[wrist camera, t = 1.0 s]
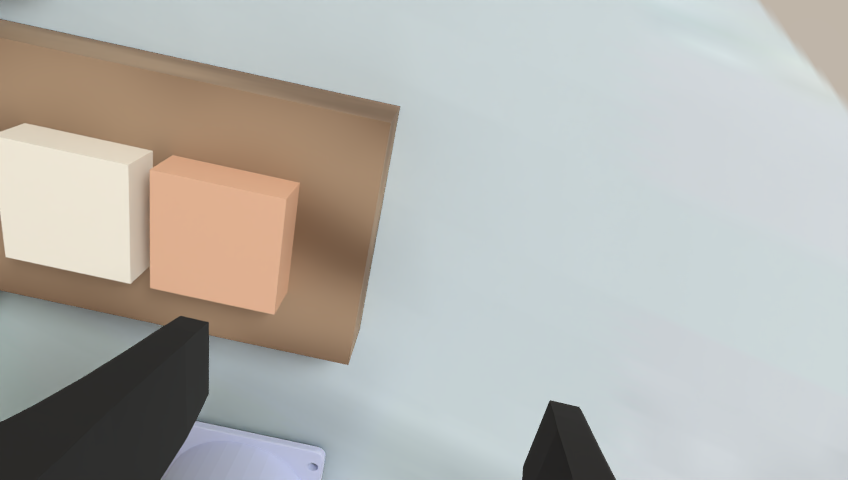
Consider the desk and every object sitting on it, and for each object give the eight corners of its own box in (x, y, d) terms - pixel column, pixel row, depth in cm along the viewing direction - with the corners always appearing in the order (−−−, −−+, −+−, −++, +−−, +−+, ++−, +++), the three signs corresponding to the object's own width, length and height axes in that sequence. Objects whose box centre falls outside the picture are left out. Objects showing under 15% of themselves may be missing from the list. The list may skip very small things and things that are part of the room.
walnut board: (359, 330, 26) (348, 364, 24) (22, 257, 26) (-22, 285, 24) (400, 106, 22) (391, 123, 19) (-4, 18, 22) (-60, 24, 19)
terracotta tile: (287, 292, 23) (274, 314, 21) (171, 267, 22) (150, 287, 21) (300, 182, 21) (286, 199, 19) (172, 155, 21) (149, 169, 19)
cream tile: (152, 263, 22) (130, 283, 21) (36, 238, 22) (5, 256, 21) (153, 150, 21) (128, 165, 19) (25, 123, 21) (-10, 135, 19)
